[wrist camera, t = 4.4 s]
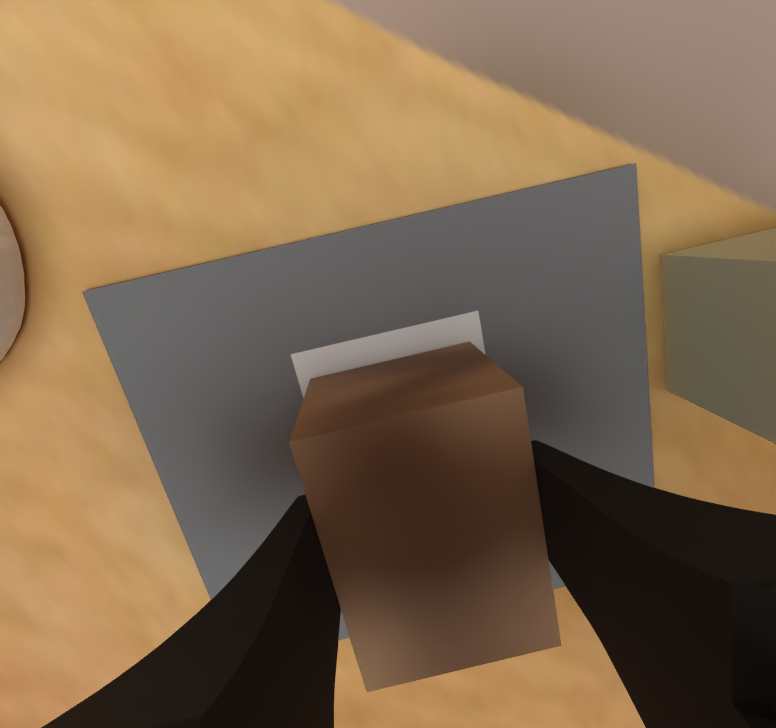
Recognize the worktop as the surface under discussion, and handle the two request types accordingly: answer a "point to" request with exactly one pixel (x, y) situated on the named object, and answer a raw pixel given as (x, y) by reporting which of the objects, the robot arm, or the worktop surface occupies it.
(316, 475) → the walnut base block
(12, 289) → the ramekin
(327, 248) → the gray mat
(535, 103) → the worktop surface
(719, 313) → the sage cube
